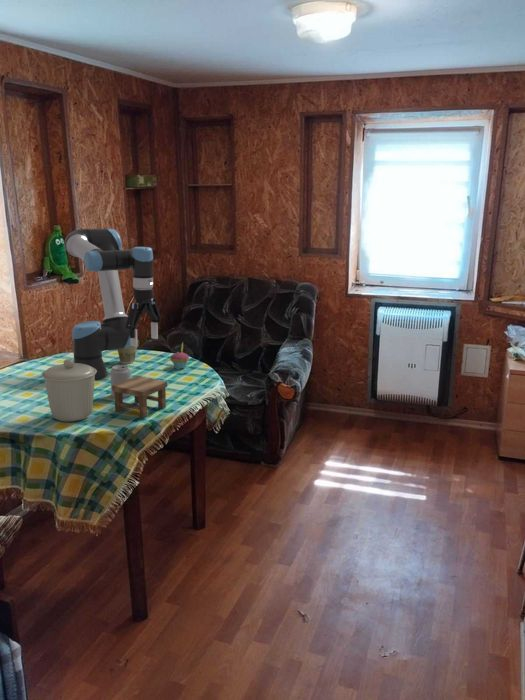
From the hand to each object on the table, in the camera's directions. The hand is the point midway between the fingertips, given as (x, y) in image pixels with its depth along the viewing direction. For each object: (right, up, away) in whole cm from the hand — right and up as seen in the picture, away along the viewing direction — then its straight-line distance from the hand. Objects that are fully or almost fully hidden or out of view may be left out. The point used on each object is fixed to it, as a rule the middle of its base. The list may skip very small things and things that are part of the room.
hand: (144, 342), depth 226 cm
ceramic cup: (-17, -9, +48) cm, 52 cm away
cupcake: (+8, -11, +40) cm, 43 cm away
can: (-9, -21, +1) cm, 23 cm away
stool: (+1, -25, -13) cm, 28 cm away
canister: (-21, -27, -22) cm, 40 cm away
